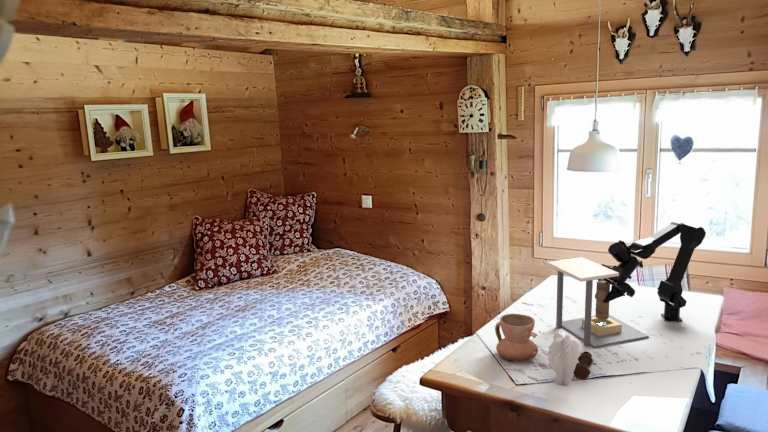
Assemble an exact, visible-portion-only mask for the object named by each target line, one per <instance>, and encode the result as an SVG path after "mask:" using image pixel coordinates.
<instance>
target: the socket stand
mask: <svg viewBox="0 0 768 432" xmlns="http://www.w3.org/2000/svg"><path fill="white" fill-rule="evenodd" d="M546 266H549V267H550V268H552V269H554V270H556V271H557V278H556V279H557V282H556V283H557V284H556V285H557V286H556V287H557V288H556V315H555V316H556V317H555V318H556V321H555V326H556V328H558V329H564V330H565V331H567V332H568V333H570V334H571V335H573V336H575V337H577V338H578V339H580V340H581V341H583V345H584V346H585V347H592V348H593V349H596V348H597V349H598V348H601V347H608V346H612V344H613V345H618V343H619V344H622V343H628V342H629V343H630V342H633V341H634V340H635V341H638V340H639V341H640V340H645V339H649V338H650V335H649V334H646V333H645V332H643V331H641V330H639V329H637V328H635V327H633V326H632V325H629V324H628V323H626V322H624V321H622V320H620V319H618V318H617V317H614V316H613V315H611V314H609V318H608V319H598V318H596V317H595V316H596V315H592V307H593V305H592V304H593V283H594V281H595V280H597V279H602V278H609V277H616V276H619V273H618V272H616V271H614V270H611V269H609V268H606V267H604V266H602V264H599V263H596V262H594V261H592V260H590V259H587V258H585V257H581V256H579V257H574V258H567V259H566V258H565V259H559V260H551V261H546ZM564 275H566V276H568V277H571V278H573V279H574V280H576V281H579V282H585V297H584V299H585V301H584V304H585V305H584V317H580V318H579V317H578V318H573V319H569V320H563V310H564V309H563V308H564V307H563V305H564V304H563V301H564ZM600 322H606V323H607V325H602V326H599V325H598V324H596V323H600ZM583 326H584V328H583Z"/></svg>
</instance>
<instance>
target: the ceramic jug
mask: <svg viewBox="0 0 768 432" xmlns="http://www.w3.org/2000/svg"><path fill="white" fill-rule="evenodd" d="M534 328H535V318H533V317H532V316H530V315H526V314H521V313H507V314H503V315H501V316H500V317H499V321H497V322H496V323H495V328H494V331H495V337H496V338H497V341H498V342H497V344H496V352H497V354H498V355H499V356H500V357H502V358H503V359H505V360H507V361H511V362H516V363H517V362H518V363H519V362H527V361H530V360H533V359H534V358H535V357H536V356H537V354H538V352H539V347H538V345H537V344H536V342H534V341H533V340H531V339H530V338H531V337H532V338H533V339H535V338H536V337H537V336H538V333H537V332H534V331H533V330H534ZM500 329H501V330H500ZM501 332H502V334H501ZM502 335H503V337H504V338H502Z"/></svg>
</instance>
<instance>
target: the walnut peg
mask: <svg viewBox="0 0 768 432" xmlns="http://www.w3.org/2000/svg"><path fill="white" fill-rule="evenodd" d="M610 291H611V284H610V282H607V281H598V280H597V281H596V291H595V294H596V298H595V315H594V316H595V317H596V318H598V319H608V318H609V315H610V301H609V302H607V303H604V302H603V301H604V299H605V298H606V296H607V295H608V294H609V292H610Z"/></svg>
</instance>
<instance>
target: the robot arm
mask: <svg viewBox="0 0 768 432" xmlns="http://www.w3.org/2000/svg"><path fill="white" fill-rule="evenodd" d="M706 233H707V232H706V230H705V229H704V227H702V226H697V225H695V224H690V223H687V224H685V223H684V222H680V221H676V220H674V221H671V222H669V224H668V225H666V226H665V227H663V228H661V229H660V230H659V231H657V232H655V233H653V234H652V235H651V236H649V237H645V238H640V239H638V240H635V241H633V242H632V243H631V244H628V245H627V244H626V242H625V241H624V240H618V241H617V242H614V243H612V244H610V245H609V247H608V249H607V252H608V254H610V255H611V257H612V258H613V259H614V260H615V261H616V262H617V263H619V264H618V265H613V266H612V267H611V266H610V265H606V264H603V263H602V264H601V265H602V266H604V267H606V268H609V269H611V270H614V271H616V272H618V273H619V276H616V277H609V278H602V279H596V280H597V281H607V282H610V292H609V294H608V295H607V296H606V298H605V299H604V301H603V302H604V303H607V302H609V303H610V302H611V301H614V300H615V299H619V298H621V297H625V296H626V295H627V296H628V297H630V298H633V297H634V296H635V294H636V290H635V289H634V288H633V287H632V286H631V285H630V284H629V283H628V282H627V280H628V279H629V280H631V279H632V276H631V275H632V274H633V273H634V271H635V270H636V269H637V268H641V269H643V268H644V264H643V263H644V262H643V260H647V259H649V258H651V256H653V254H655V252H656V250H657V249H658V248H659V247H660V246H662V245H664V244H665V243H667V242H668V241H670V240H672V239H673V238H675V237H676V236H678V235H679V234H680V235H679V240H680V247H679V249H678V252H677V255H676V256H675V258H674V259H675V260H674V262H673V265H672V268H671V269H670V270H671V271H670V272H669V275H668V278H666V279H664V280H662V279H661V280H660V282H659V285H658V287H657V296H658V297H659V302H663V303H664V307H663V313H660V316H661V317H662V318H663V319H664V321H666V322H667V321H669V322H670V321H671V322H674V321H675V322H682V321H683V318H682V317H681V309H683V307H686V305H687V300H686V299H685V297H683V296H682V295H683V285H682V281H683V280H684V276H685V274H686V271H687V269H688V266H689V264H690V261H691V259H692V256H693V254H694V251H695V249H696V248H698V247H699V246H700V245H701V244H702V243H703V241H704V239H705V237H706ZM638 258H639V259H638ZM641 259H643V260H641ZM594 299H596V293H595V294H594Z"/></svg>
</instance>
